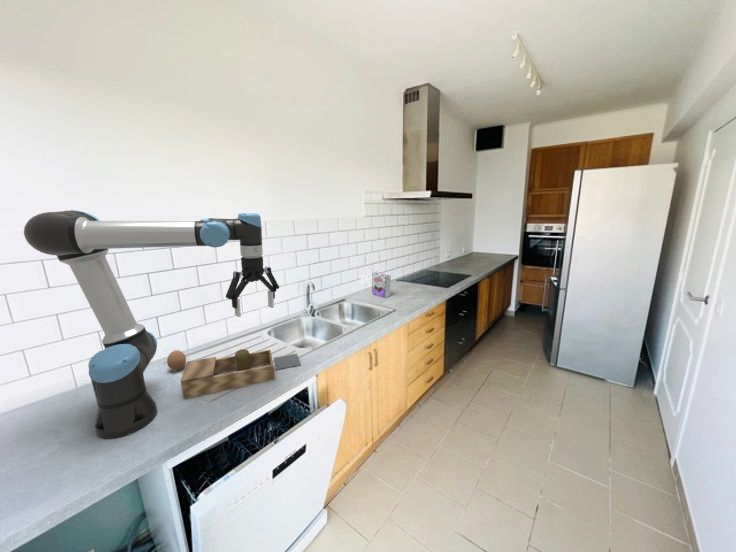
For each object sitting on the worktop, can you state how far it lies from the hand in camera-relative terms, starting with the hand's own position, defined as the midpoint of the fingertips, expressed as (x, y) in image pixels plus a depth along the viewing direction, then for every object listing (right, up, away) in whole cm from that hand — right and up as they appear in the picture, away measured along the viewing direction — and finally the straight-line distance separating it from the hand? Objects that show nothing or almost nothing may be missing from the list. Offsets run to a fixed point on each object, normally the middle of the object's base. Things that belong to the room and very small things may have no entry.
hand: (255, 311), depth 114 cm
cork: (-6, -26, +4) cm, 27 cm away
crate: (-10, -26, +2) cm, 28 cm away
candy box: (+53, -1, +106) cm, 118 cm away
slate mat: (+8, -23, +14) cm, 29 cm away
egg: (-35, -25, +8) cm, 44 cm away
